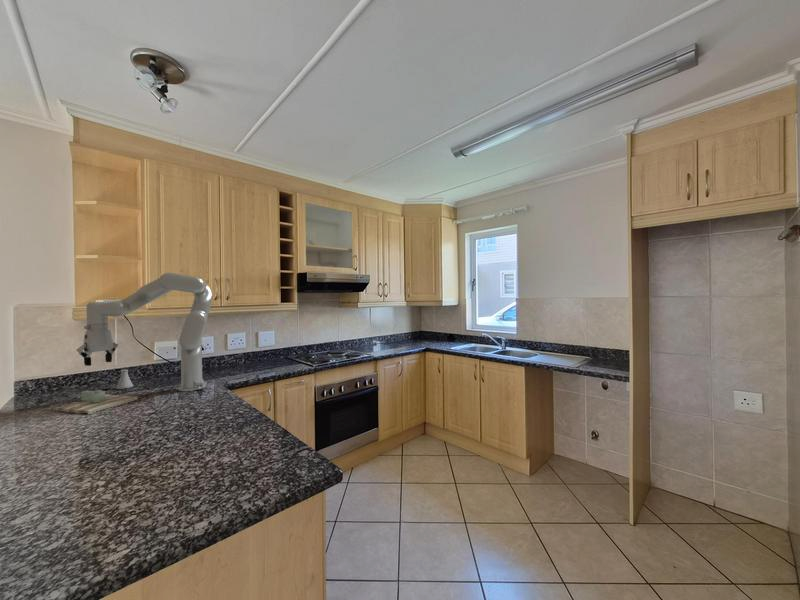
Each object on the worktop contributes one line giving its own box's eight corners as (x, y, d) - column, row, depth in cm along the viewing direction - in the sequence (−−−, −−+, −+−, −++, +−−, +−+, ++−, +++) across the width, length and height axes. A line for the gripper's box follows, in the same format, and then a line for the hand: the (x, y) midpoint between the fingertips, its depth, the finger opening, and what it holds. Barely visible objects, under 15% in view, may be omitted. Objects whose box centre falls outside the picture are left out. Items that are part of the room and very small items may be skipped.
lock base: (137, 399, 157) (137, 396, 157) (88, 414, 137) (88, 410, 137) (106, 397, 162) (106, 394, 162) (55, 411, 142) (55, 407, 142)
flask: (123, 389, 176) (122, 371, 176) (112, 389, 177) (112, 371, 177) (136, 386, 183) (136, 368, 183) (126, 386, 184) (125, 368, 184)
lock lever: (108, 399, 151) (107, 389, 151) (96, 403, 147) (96, 392, 147) (88, 398, 154) (88, 388, 154) (76, 401, 150) (75, 390, 150)
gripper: (81, 329, 147) (82, 367, 147) (122, 326, 164) (123, 360, 164) (69, 329, 149) (70, 367, 149) (111, 326, 166) (112, 360, 166)
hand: (98, 363), depth 157 cm, fingers open, 8 cm apart
